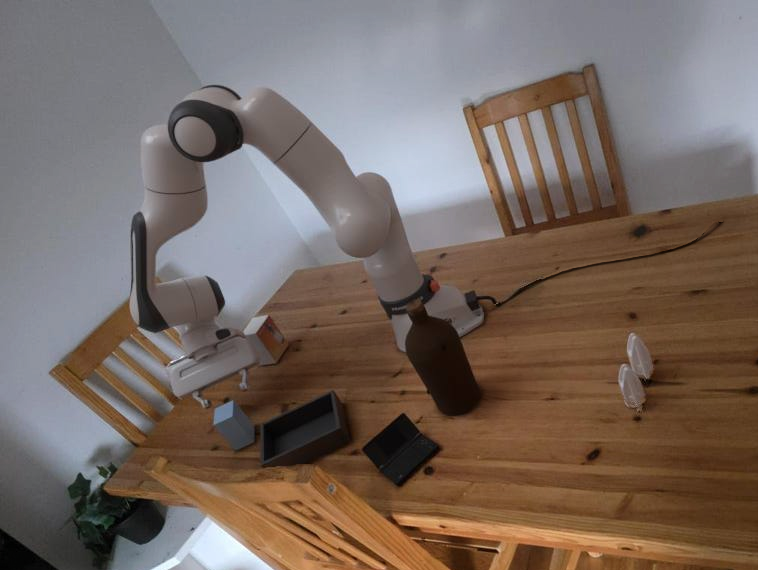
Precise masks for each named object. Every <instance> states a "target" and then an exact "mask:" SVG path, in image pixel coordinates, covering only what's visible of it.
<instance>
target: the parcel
mask: <svg viewBox="0 0 758 570" xmlns="http://www.w3.org/2000/svg"><path fill="white" fill-rule="evenodd" d="M213 415H214V417H213V426H214V428H215V429H216V430H217V431H218V433H220V434H221V436H222V437H223V438H224V439H225V440H226V441H227V442H228V444H229V445H230V446H231V447H232V448H233V449H234V451H238V450H240V449H243V448H244V447H247V446H249V445H251V444H254V443H255V424H254V423H253V422H252V421H251V420H250V419H249V417H248V416H247V415H246V413H245V412H244V411H243V410H242V409H241V407H240V406H239V405H238V404H237V403H236V402H235V400H234V399H232V400H230V401H228V402H226V403H224V404H222V405H220V406H217V407H216V408H214V414H213Z"/></svg>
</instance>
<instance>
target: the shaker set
mask: <svg viewBox="0 0 758 570" xmlns="http://www.w3.org/2000/svg"><path fill="white" fill-rule="evenodd" d="M626 354H627V358H628V360H629V364H630V366H629V365H628V364H627V363H623V364H621V366H620V368H619V371H618V377H617V381H618V384H619V388H620V391H621V394H622V395H623V396H624V397H623V396H622V395H621V396H622V397H623V401H624V404H625V405H626V406H627V408H634V409H635V408H636V407H637V406H639V405H640V404H641V403H640V399H642V398H643V396H646V393H645V390H644V388H643V385H642V382H641V379H639V378H638V376H637V374H638V375H644V376H645V377H646V379H647V378H649V377H650V375H649V372H650V371H651V370H652V369H653V366H654V364H653V360H652V358H651V354H650V351H649V349H648V347H647V346H646V344H645V342H644V341H643V340H642V339H641V338H640V337H639V336H638V335H637V334H636V333H635V332H631V333H630V334H629V336H628V339H627V344H626ZM624 399H625V400H626V402H631V403H632V402H635V403H636V404H634V405H635V406H634V405H632V404H627V403H626V402H625V400H624ZM636 405H637V406H636ZM642 407H643V406H642ZM642 407H641V409H642ZM638 409H639V410H640V408H638ZM638 409H637V408H636V410H637V412H638V411H639V410H638ZM641 411H642V410H641ZM641 411H640V412H639V413H642V412H643V411H642V412H641Z"/></svg>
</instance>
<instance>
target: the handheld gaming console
mask: <svg viewBox="0 0 758 570" xmlns="http://www.w3.org/2000/svg"><path fill="white" fill-rule="evenodd" d="M439 450H440V446H439V444H437V443H436V442H435V441H433V440H431V439H430V438H429V437H427V436H425V435H424V434H423V432H421V430H420V429H419V428H418V427H417V426H416V425H415V423H414V422H413V421H412V420H411V419H410V417H408V415H407V414H406V413H405V412H402V413H401V414H399V415H398V416H397V417H396V418H394V420H392V421H391V422H390V423H389V424H388V425H387V426H386V427H384V428H383V429H382V430H381V431H379V433H378V434H376V435H375V436H374V437H372V438H371V440H369V441H368V442H367V443H366V444H365V445H364V446H362V448H361V451H362V453H364V455H365V457H367V458H368V459H369V461H371V463H372V464H373V465H374V466H375V467H376V468H377V470H378V471H379V472H380V474H382V475H383V476H384V477H385V478H387V479H388V480H389V481H390V482H391V483H393V484H394V485H395V486H397V487H400V486H401V485H402V484H403V483H404V482H406V481H407V480H408V479H409V478H410V477H411V476H412V475H413V474H414V473H415V472H417V470H419V468H421V467H422V466H423V465H424V464H425V463H426V462H428V460H430V458H432V457H433V456H434V455H435V454H436V453H437V452H438V451H439Z"/></svg>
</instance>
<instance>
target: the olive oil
mask: <svg viewBox="0 0 758 570" xmlns="http://www.w3.org/2000/svg"><path fill="white" fill-rule="evenodd" d="M405 308H406V310H407V312H408V316H409V318H410V320H411V321H412V325H411V327H410V329H409V331H408V334H407V336H406V339H405V349H406V352H405V353H406V356H407V359H408V361H409V362H410V364H411V365H412V367H413V369H414V370H415V372H416V374H417V375H418V376H419V378H420V380H421V382H422V384H423V385H424V387H425V388H426V393H427V394H428V396H431V399H432V400H433V402H434V404H435V406H436V407H437V409H438V411H440V413H441V414H443V415H445V416H451V417H452V416H453V417H454V416H459V415H463V414H465V413H467V412H469V411H470V410H472V409H473V408H474V407H476V405H477V404H478V402H479V400H480V398H481V389H480V387H479V384H478V382H477V380H476V377H475V375H474V374H475V373H474V372H473V369H472V367H471V364H470V362H469V359H468V356H467V353H466V351H465V348H464V345H463V343H462V340H461V337H459V334H458V332H457V331H456V329H455V328H454V327H453V326H452V325H451V324H450V323H449V322H448V321H446V320H444V319H441V318H437V317H432V316H429V315H428V313H427V311H426V309H425V306H424V305H423V304H422V302H421V300H418V299H416V300H412V301H410V302H409V303H408V304H407V305H406V307H405Z"/></svg>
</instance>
